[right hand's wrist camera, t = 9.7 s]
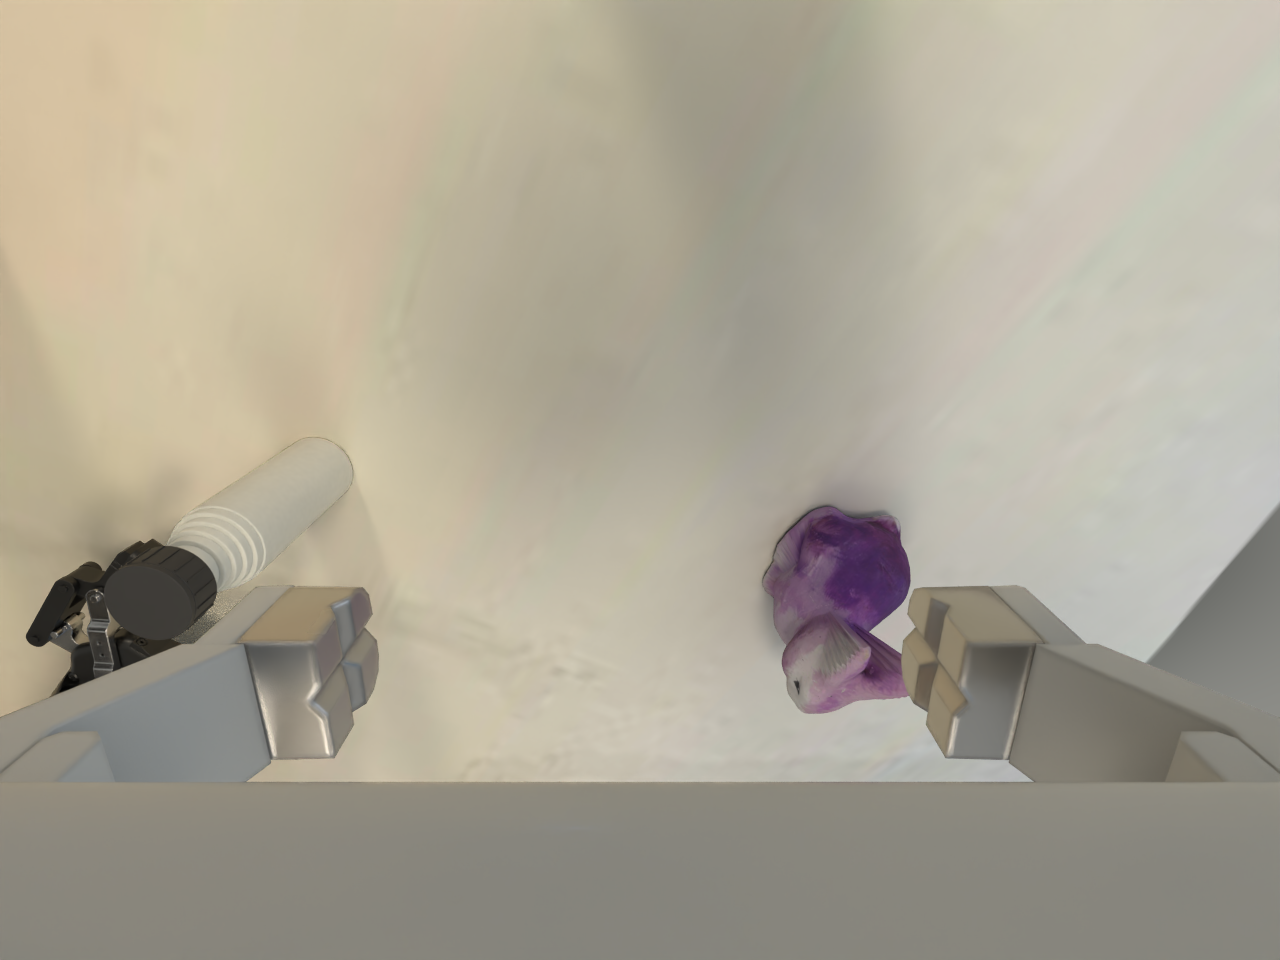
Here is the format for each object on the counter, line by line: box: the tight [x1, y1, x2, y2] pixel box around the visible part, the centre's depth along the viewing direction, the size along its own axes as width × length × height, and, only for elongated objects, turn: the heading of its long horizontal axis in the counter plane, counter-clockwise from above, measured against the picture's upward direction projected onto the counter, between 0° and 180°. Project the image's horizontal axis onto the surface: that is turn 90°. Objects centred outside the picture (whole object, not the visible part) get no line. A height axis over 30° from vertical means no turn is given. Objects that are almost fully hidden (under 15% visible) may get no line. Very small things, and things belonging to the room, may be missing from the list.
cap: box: [104, 546, 217, 640], centre depth 32 cm, size 4×4×2 cm
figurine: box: [762, 507, 910, 714], centre depth 44 cm, size 9×10×15 cm
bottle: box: [166, 437, 353, 592], centre depth 40 cm, size 5×5×18 cm
